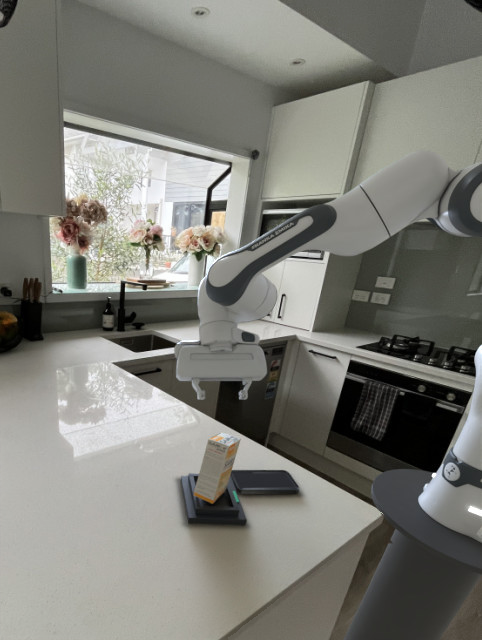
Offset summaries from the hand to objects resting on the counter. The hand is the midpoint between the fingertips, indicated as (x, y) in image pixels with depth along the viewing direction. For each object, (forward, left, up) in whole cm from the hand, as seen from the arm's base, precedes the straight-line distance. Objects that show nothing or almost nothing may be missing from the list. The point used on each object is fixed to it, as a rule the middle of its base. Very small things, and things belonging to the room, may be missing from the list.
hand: (222, 399), depth 84 cm
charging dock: (+2, +10, -21) cm, 23 cm away
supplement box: (+2, +11, -18) cm, 21 cm away
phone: (-12, +3, -21) cm, 24 cm away
